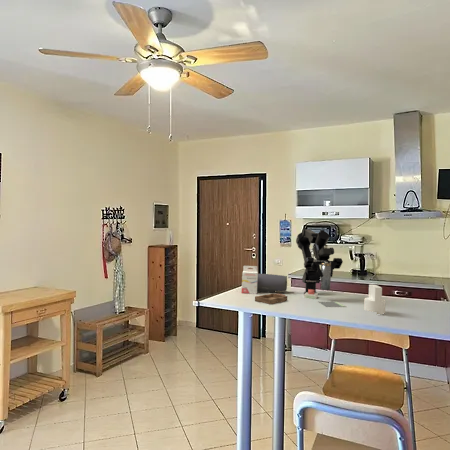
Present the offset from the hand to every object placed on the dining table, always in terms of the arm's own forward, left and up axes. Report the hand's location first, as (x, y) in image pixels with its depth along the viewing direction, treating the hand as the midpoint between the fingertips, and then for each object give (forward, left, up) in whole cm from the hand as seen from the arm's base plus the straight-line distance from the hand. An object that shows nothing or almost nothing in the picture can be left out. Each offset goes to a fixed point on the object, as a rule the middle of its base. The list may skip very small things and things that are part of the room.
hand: (326, 276), depth 200 cm
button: (-6, -8, -10) cm, 14 cm away
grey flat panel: (+7, +4, -13) cm, 16 cm away
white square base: (-6, -8, -13) cm, 17 cm away
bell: (-1, -1, -7) cm, 7 cm away
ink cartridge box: (-8, -42, -14) cm, 45 cm away
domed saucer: (-6, -25, -13) cm, 29 cm away
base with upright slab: (+10, +23, -14) cm, 28 cm away
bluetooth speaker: (-17, -35, -14) cm, 41 cm away
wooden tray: (+8, -26, -13) cm, 30 cm away
